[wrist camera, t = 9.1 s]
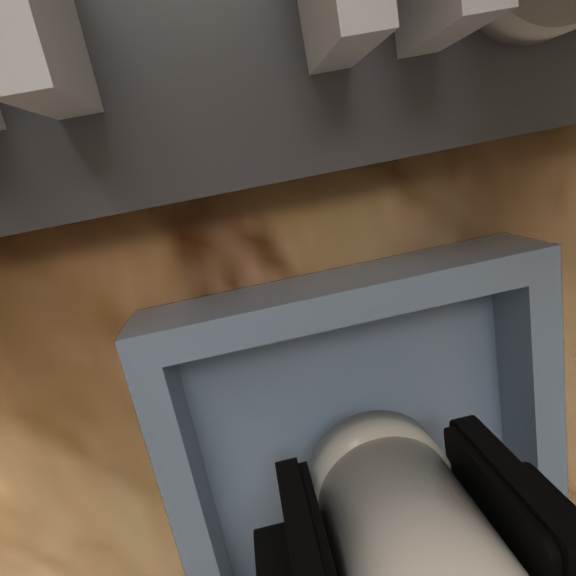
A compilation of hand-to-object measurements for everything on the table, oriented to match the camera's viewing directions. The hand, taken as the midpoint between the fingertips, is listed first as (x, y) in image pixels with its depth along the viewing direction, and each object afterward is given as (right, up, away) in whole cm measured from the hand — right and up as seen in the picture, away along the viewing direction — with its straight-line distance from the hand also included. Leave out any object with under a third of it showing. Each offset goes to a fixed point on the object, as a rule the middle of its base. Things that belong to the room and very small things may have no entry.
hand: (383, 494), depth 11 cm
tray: (0, +1, +3) cm, 3 cm away
